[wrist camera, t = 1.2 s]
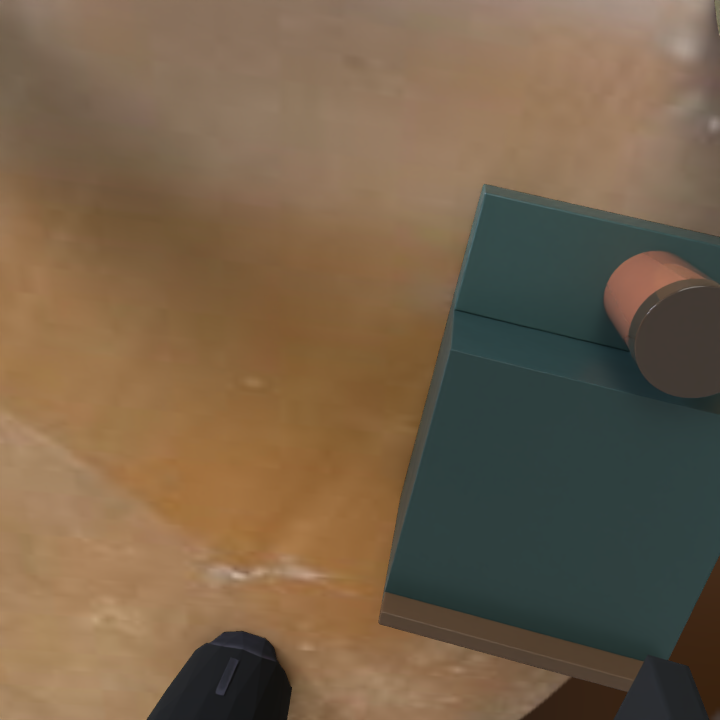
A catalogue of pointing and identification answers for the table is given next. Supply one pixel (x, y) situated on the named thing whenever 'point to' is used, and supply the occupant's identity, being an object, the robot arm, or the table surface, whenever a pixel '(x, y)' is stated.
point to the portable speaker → (228, 683)
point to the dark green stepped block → (555, 457)
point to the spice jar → (668, 322)
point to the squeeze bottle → (717, 13)
